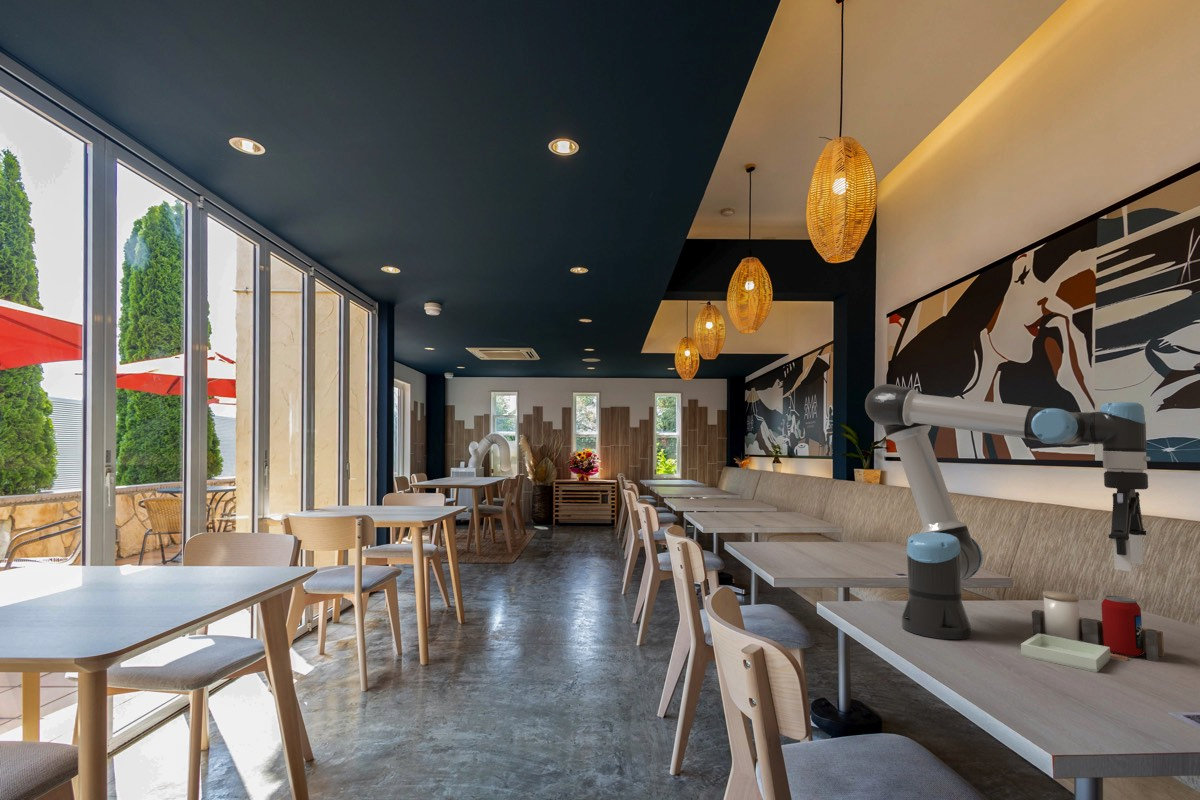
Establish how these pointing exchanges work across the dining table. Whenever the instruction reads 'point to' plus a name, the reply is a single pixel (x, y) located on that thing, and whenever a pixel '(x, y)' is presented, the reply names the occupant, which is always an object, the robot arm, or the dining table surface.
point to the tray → (1066, 652)
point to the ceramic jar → (1062, 615)
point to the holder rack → (1094, 634)
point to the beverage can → (1122, 626)
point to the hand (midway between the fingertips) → (1129, 567)
